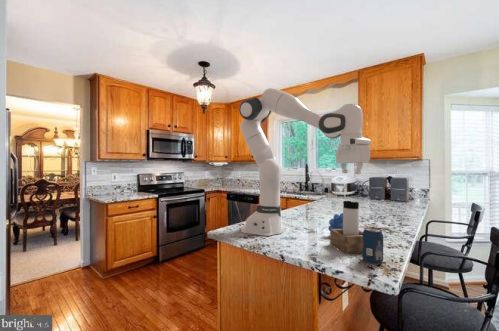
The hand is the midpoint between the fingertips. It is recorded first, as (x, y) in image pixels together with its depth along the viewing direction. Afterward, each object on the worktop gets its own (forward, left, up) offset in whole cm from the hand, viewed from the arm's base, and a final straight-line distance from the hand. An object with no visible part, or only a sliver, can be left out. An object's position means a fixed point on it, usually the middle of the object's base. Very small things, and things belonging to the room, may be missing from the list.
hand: (350, 173), depth 102 cm
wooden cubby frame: (0, 0, -32) cm, 32 cm away
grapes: (-1, +18, -33) cm, 37 cm away
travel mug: (0, 0, -32) cm, 32 cm away
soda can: (+5, -13, -33) cm, 36 cm away
